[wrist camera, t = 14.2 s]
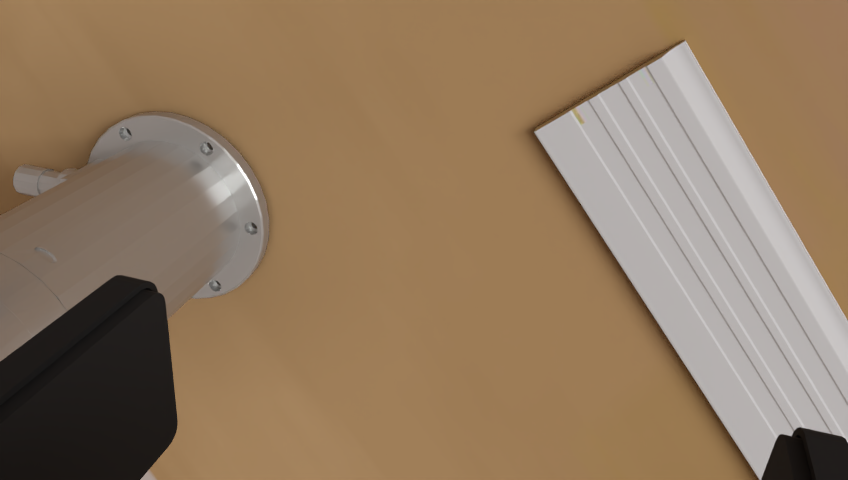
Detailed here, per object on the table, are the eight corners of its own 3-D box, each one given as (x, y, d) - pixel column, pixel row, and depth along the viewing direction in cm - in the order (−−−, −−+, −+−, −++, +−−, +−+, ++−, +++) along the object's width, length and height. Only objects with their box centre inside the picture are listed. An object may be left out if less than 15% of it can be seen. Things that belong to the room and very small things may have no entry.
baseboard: (713, 20, 36) (537, 124, 41) (716, 32, 34) (528, 140, 39) (972, 478, 43) (795, 523, 48) (990, 516, 40) (801, 559, 45)
